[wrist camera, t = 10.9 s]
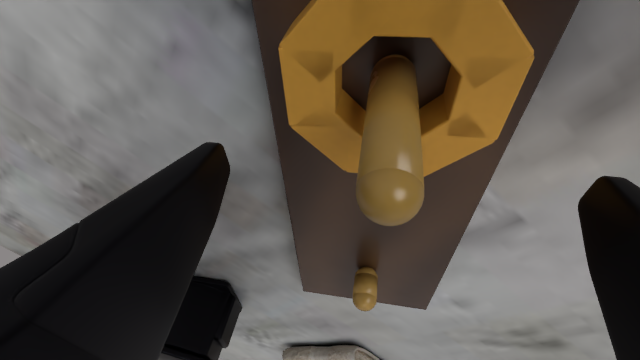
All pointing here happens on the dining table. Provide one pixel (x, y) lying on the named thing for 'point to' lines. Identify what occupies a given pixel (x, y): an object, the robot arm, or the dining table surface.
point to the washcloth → (328, 353)
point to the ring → (405, 21)
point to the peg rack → (389, 163)
